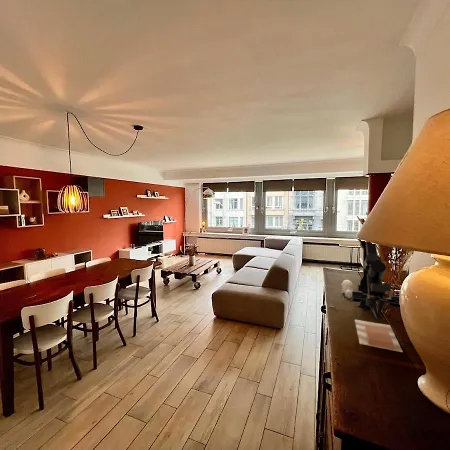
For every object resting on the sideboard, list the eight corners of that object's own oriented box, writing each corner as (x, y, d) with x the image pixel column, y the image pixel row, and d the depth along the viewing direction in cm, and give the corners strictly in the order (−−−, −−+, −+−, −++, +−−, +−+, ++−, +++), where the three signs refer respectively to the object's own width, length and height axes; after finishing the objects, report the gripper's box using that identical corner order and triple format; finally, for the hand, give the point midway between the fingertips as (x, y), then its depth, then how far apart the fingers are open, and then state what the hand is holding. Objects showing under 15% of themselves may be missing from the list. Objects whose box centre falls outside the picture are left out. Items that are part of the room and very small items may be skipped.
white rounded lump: (352, 279, 153) (356, 287, 142) (351, 292, 154) (355, 301, 143) (341, 278, 155) (343, 286, 144) (340, 291, 157) (342, 299, 145)
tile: (364, 324, 106) (368, 338, 95) (386, 328, 103) (393, 343, 92) (364, 330, 107) (368, 344, 96) (386, 334, 104) (392, 349, 93)
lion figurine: (368, 298, 145) (369, 283, 145) (368, 295, 150) (369, 280, 149) (399, 302, 139) (400, 287, 138) (397, 299, 144) (398, 284, 143)
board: (354, 321, 117) (354, 319, 117) (389, 327, 111) (389, 325, 111) (359, 346, 96) (359, 343, 96) (402, 354, 91) (403, 352, 91)
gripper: (353, 272, 108) (353, 306, 99) (404, 277, 101) (410, 315, 92) (350, 284, 116) (351, 317, 107) (398, 290, 109) (403, 326, 99)
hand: (377, 318), depth 101 cm, fingers closed
